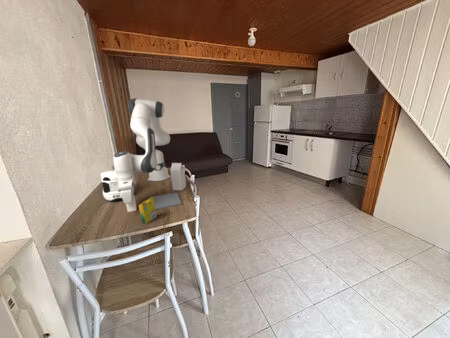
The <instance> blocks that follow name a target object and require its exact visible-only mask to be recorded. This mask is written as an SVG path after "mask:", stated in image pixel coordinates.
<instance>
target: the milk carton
mask: <svg viewBox="0 0 450 338" xmlns="http://www.w3.org/2000/svg"><path fill="white" fill-rule="evenodd" d="M169 170H170V176H171V177H170V179H171V185H172V186H171V187H172V191H184V189H185V188H186V187H187V182H186V175H185V167H184V165H183V164H182V162H171V167H170V169H169Z"/></svg>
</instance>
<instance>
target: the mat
mask: <svg viewBox="0 0 450 338" xmlns="http://www.w3.org/2000/svg"><path fill="white" fill-rule="evenodd" d="M151 197H153V200H154V205H155V210H157V211H158V210H161V209H166V208H167V209H168V208H171V207H176V206H182V200H181V198H180V196H179V194H178V191H177V192H172V193H165V194H161V195H155V196H150V197H148V199H149V198H151Z"/></svg>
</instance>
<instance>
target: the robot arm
mask: <svg viewBox="0 0 450 338" xmlns="http://www.w3.org/2000/svg"><path fill="white" fill-rule="evenodd" d="M127 107H128V111H129V112H130V114H131V116H130V122H129V123H130V124H129V127H130V129H131V131H132V132H133V133H134V134H135V135H136V137H135V142H136V144H137V145H138V146H139V147H140V148H142V149H143V150H145V153H144V154H140V155H139V154H133V153H130V152H129V151H127V150H125V151H119V152H116V153H115V154H114V155H113V158H112V159H113V167H114V168H113V169H115V171H116V174H117V182H118V188H119V190H121V195H122V198H123V199H122V202H123V203H124V204H125V205H126V204H128V205H129V207H132V206H133V204H132V199H133V195H135V194H134V193H135V185H136V184H137V181H136V175H135V172H137V173H139V172H140V173H148V178H147V181H151V182H160V181H165V180H167V179H169V178H171V174H169V171H168V168H167V167H166V162H165V159H164V158H165V157H164V153H163V152H162V151H161V150H159V149H157V148H156V147H157V146H160V147H161V146H165V145H169V143H170V142H171V136H170V134H169V133H168V132H167V131H165V130H164V129H163V128H162V127H161V122H160V118H162V117H163V116H164V114H165V106H164V103H162V101H157V100H152V99H149V98H148V99H144V98H137V97H135V98H131V99H129V100H128V104H127Z"/></svg>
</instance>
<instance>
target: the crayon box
mask: <svg viewBox="0 0 450 338" xmlns="http://www.w3.org/2000/svg"><path fill="white" fill-rule="evenodd" d="M150 197H151V198H149V197H148V198H147V199H146V200H144V201H142V202H141V203H140V204H138V211H139V215H140V219H141V220H140V221H141V223H142V224H144V225H147V224H148V223H149V222H151V221H152V220H154V219H156V218H157V216H158V215H157V212H156V210H155V205H154V200H153V197H154V196H150Z"/></svg>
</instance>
